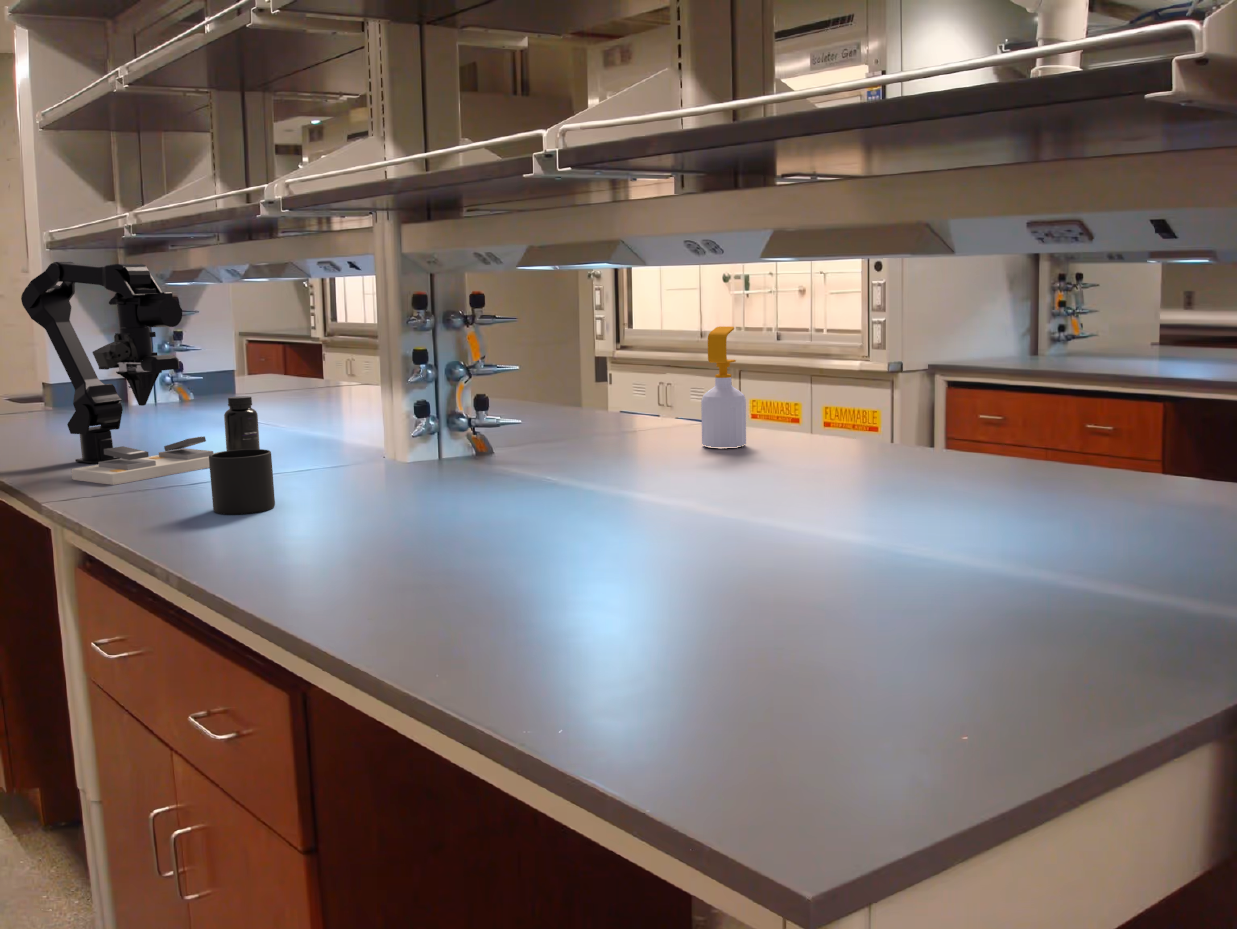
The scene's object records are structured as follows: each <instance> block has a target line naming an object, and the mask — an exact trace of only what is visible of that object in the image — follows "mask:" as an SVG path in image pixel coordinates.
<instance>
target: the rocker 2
mask: <svg viewBox="0 0 1237 929" xmlns="http://www.w3.org/2000/svg"><path fill="white" fill-rule="evenodd" d="M205 442H207V440H206V436H197V437H189V438H185V439H184V440H180V441H177V442H174V443H170V444H167V445H164V446H163V449H164V451H170V450H177V449H183V448H186V449H187V448H188V447H191V446H194V445H198V444H201V443H205Z"/></svg>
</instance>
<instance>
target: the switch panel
mask: <svg viewBox="0 0 1237 929" xmlns="http://www.w3.org/2000/svg"><path fill="white" fill-rule="evenodd" d="M214 453H215V452H214V451H213V450H204V449H195V448H187V447H186V448H182V449H176V450H170V451H165V450H164V451H159V452H158V454H156V455H155V454H154V455H151V456H150V455H149V457H146V458H140V459H134V460H127V459H122V458H121V459H115V460H108V461H102V462H98V464H95V465H90V466H89V465H88V466H82V467H76V468H71V477H72V478H71V479H72V480H73V481H81V482H88V483H96V484H103V485H109V486H110V485H111V486H114V485H123V484H126V483H127V484H128V483H132V482H138V481H142V480H149V479H154V478H160V477H165V476H171V475H177V474H183V473H188V472H193V471H197V470H199V471H200V470H204V468H205V469H210V466H209V455H211V454H214Z"/></svg>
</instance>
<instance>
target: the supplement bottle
mask: <svg viewBox="0 0 1237 929" xmlns="http://www.w3.org/2000/svg"><path fill="white" fill-rule="evenodd" d="M252 406H253V400H252V396H250V395H249V396H246V395H245V396H242V395H241V396H230V397H228V398H227V407H229V408H228V410H226V411H225V412H224V415H223V418H224V433H225V446H226V448H225V449H226V450H225V451H230V450H241V449H261V447H260V431H259V415H258V412H257V410H255V409H254V408H253V407H252Z"/></svg>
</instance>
